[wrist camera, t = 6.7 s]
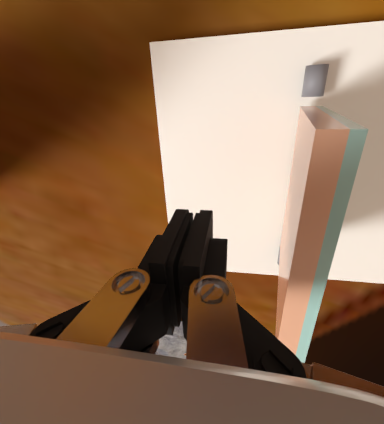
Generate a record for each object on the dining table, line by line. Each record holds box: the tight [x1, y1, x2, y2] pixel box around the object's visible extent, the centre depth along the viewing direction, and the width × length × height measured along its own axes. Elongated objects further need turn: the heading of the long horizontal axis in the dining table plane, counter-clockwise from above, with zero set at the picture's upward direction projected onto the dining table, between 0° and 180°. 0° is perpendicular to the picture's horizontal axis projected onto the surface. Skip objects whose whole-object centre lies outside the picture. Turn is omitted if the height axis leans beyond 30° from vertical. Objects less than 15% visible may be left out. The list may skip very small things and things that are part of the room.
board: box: [149, 21, 384, 284], centre depth 17 cm, size 18×20×2 cm
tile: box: [276, 106, 368, 363], centre depth 12 cm, size 10×10×1 cm
